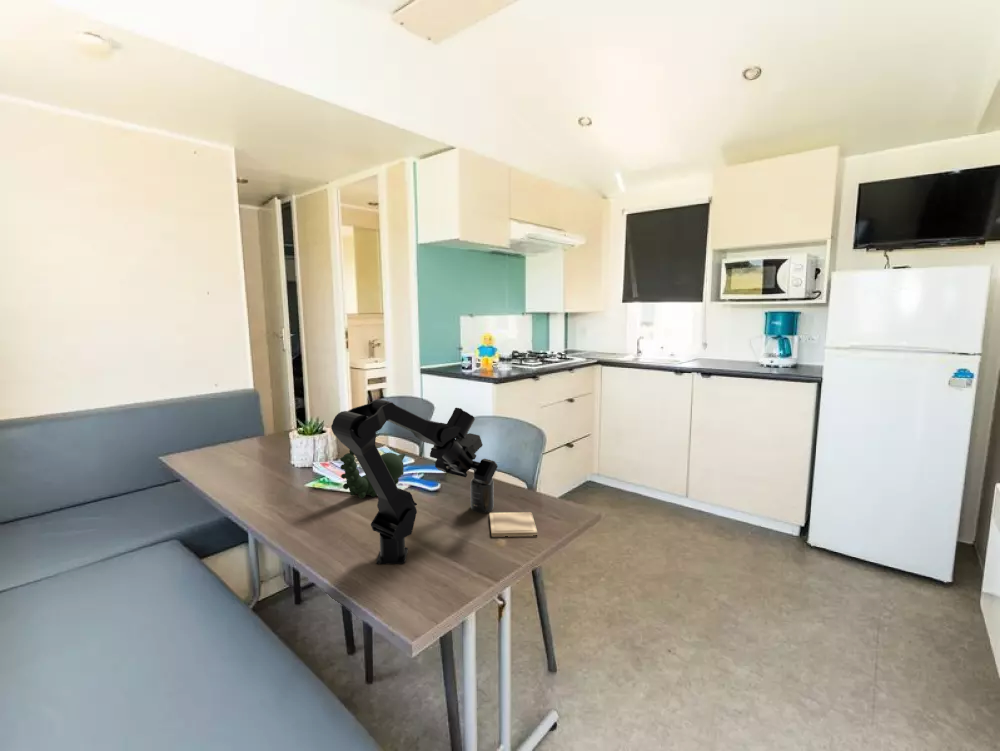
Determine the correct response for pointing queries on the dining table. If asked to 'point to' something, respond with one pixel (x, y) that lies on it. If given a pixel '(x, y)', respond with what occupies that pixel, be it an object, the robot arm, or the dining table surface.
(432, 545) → the dining table surface
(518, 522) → the coaster
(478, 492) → the supplement bottle
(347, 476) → the toy figurine
